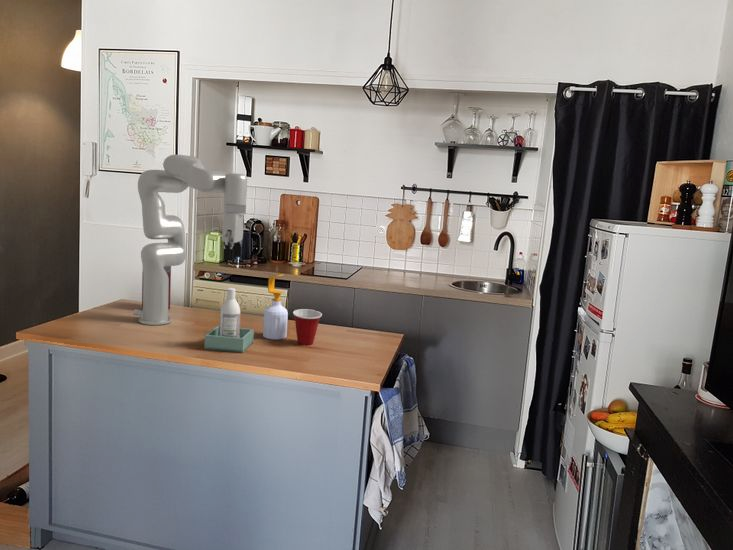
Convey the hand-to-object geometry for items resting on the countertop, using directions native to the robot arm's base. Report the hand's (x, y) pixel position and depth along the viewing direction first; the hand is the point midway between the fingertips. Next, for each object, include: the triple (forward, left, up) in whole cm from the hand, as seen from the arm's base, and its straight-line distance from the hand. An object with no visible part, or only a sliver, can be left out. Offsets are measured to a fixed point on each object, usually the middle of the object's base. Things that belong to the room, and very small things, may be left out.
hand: (232, 258), depth 203 cm
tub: (0, 0, -32) cm, 32 cm away
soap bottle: (+13, +17, -32) cm, 38 cm away
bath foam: (0, 0, -31) cm, 31 cm away
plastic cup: (+26, +12, -32) cm, 43 cm away
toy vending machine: (-45, +43, -32) cm, 70 cm away
